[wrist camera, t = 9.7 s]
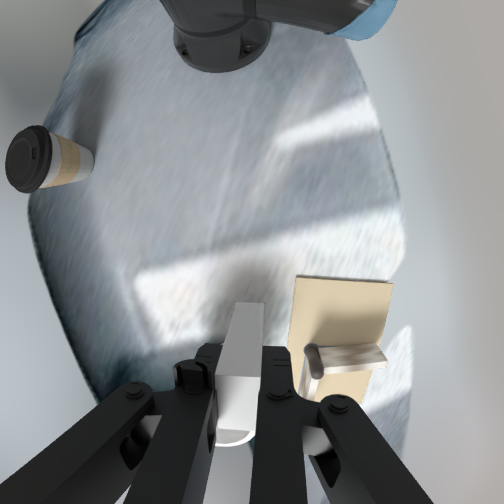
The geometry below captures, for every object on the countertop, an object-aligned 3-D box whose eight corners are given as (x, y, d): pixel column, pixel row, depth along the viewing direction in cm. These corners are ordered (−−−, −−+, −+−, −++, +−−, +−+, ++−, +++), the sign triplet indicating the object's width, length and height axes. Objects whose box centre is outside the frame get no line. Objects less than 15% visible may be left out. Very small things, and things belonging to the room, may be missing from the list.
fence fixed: (305, 343, 44) (310, 367, 37) (319, 343, 44) (327, 367, 37) (293, 406, 47) (295, 433, 40) (306, 406, 47) (310, 433, 40)
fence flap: (375, 341, 43) (390, 361, 37) (374, 350, 44) (387, 371, 37) (306, 347, 44) (311, 369, 37) (305, 356, 44) (311, 380, 38)
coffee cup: (110, 167, 41) (51, 159, 26) (75, 202, 43) (14, 208, 28) (88, 127, 40) (31, 109, 25) (55, 162, 41) (-4, 157, 27)
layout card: (295, 277, 43) (296, 278, 42) (392, 283, 42) (393, 284, 42) (278, 402, 47) (278, 403, 47) (361, 402, 47) (361, 403, 46)
